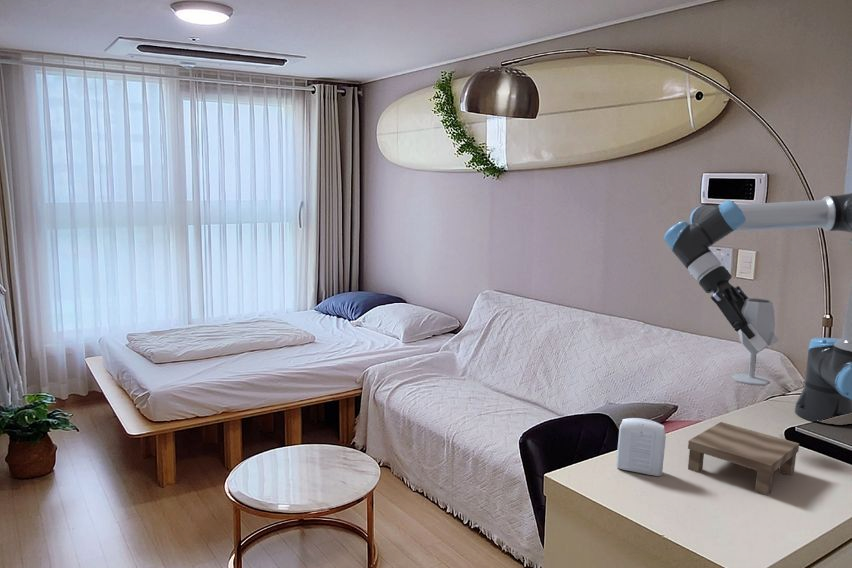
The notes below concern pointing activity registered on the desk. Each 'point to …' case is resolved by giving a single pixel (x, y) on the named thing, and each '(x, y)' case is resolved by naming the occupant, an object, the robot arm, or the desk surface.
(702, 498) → the desk surface
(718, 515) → the desk surface
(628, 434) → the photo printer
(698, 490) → the desk surface
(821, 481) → the desk surface
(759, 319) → the wineglass
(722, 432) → the footstool
